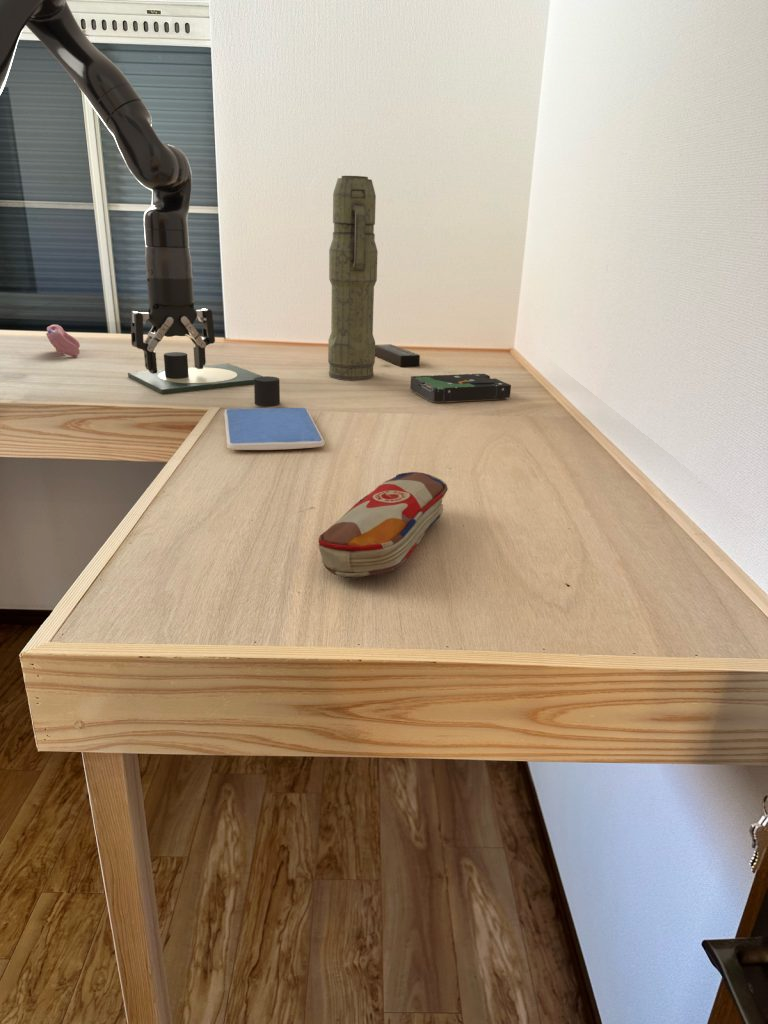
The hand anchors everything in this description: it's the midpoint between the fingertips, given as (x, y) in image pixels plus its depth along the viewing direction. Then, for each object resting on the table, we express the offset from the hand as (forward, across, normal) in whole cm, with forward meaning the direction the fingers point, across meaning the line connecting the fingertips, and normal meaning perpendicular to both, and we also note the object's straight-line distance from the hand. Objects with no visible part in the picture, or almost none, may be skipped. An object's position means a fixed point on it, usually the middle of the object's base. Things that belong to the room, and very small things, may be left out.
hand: (176, 370), depth 129 cm
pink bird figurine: (+2, +9, -37) cm, 38 cm away
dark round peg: (+1, 0, 0) cm, 1 cm away
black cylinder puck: (+2, -6, +22) cm, 23 cm away
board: (+2, -4, 0) cm, 4 cm away
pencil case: (+2, +11, +76) cm, 77 cm away
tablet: (+2, +2, +37) cm, 37 cm away
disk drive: (+2, -38, +33) cm, 50 cm away
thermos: (+2, -31, +10) cm, 33 cm away
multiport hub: (+2, -49, +1) cm, 49 cm away
